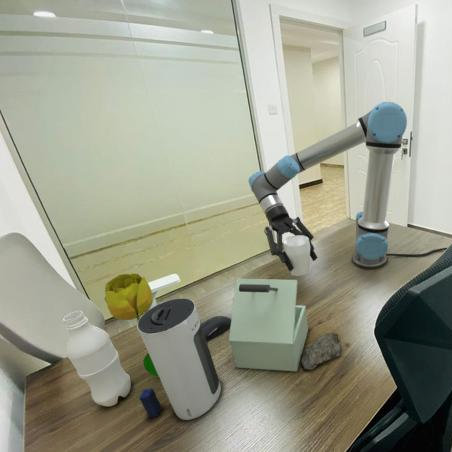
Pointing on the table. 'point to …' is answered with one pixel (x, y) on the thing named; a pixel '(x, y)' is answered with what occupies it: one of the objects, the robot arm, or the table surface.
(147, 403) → the eraser
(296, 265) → the cup
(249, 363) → the chest
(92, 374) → the water bottle
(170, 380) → the white cylindrical appliance
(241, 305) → the lid
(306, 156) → the robot arm
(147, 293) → the flower
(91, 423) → the table surface
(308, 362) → the stone
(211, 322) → the computer mouse
